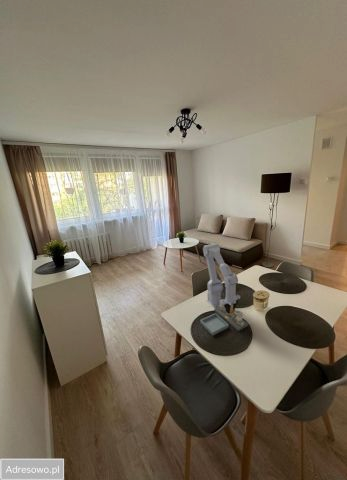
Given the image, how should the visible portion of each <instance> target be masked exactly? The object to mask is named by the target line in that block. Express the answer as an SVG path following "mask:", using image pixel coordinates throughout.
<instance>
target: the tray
mask: <svg viewBox="0 0 347 480" xmlns="http://www.w3.org/2000/svg"><path fill="white" fill-rule="evenodd" d="M199 322H200V325H201V326H202V327H203V328H205V330H206V331H207V332H208V333H209V334H210V335H211V336H212V337H213V336H215V335H217V334H219V333H221V332H223V331H225V330H227V329H229V324H230V323H228V322H227V321H226V320H225V319H224V318H223V317H221V316H220V315H219V314H218V313H217V312H215V313H212V314H211V315H210V314H209V316H206V317H204V318H202V319H200V320H199Z"/></svg>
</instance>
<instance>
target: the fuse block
mask: <svg viewBox="0 0 347 480" xmlns="http://www.w3.org/2000/svg"><path fill="white" fill-rule="evenodd" d="M213 308H214V309H213V311H214V312H215V313H216V314H217V315H218V316H220V317H221V318H222V319H223V320H224V321H225V322H226V323H228V324H230V326H232V327H233V328H234V329H235V330H237V332H239V331H241V330H243V329H245V328H247V327H249V323H248V322H247V321H245V320H244V318H242V323H241V325H238V324H237V323H236V313H235V311H233V315H228V314H227V312H226V309H223V311H221V310H220V305H218V306H217V307H213Z"/></svg>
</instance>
